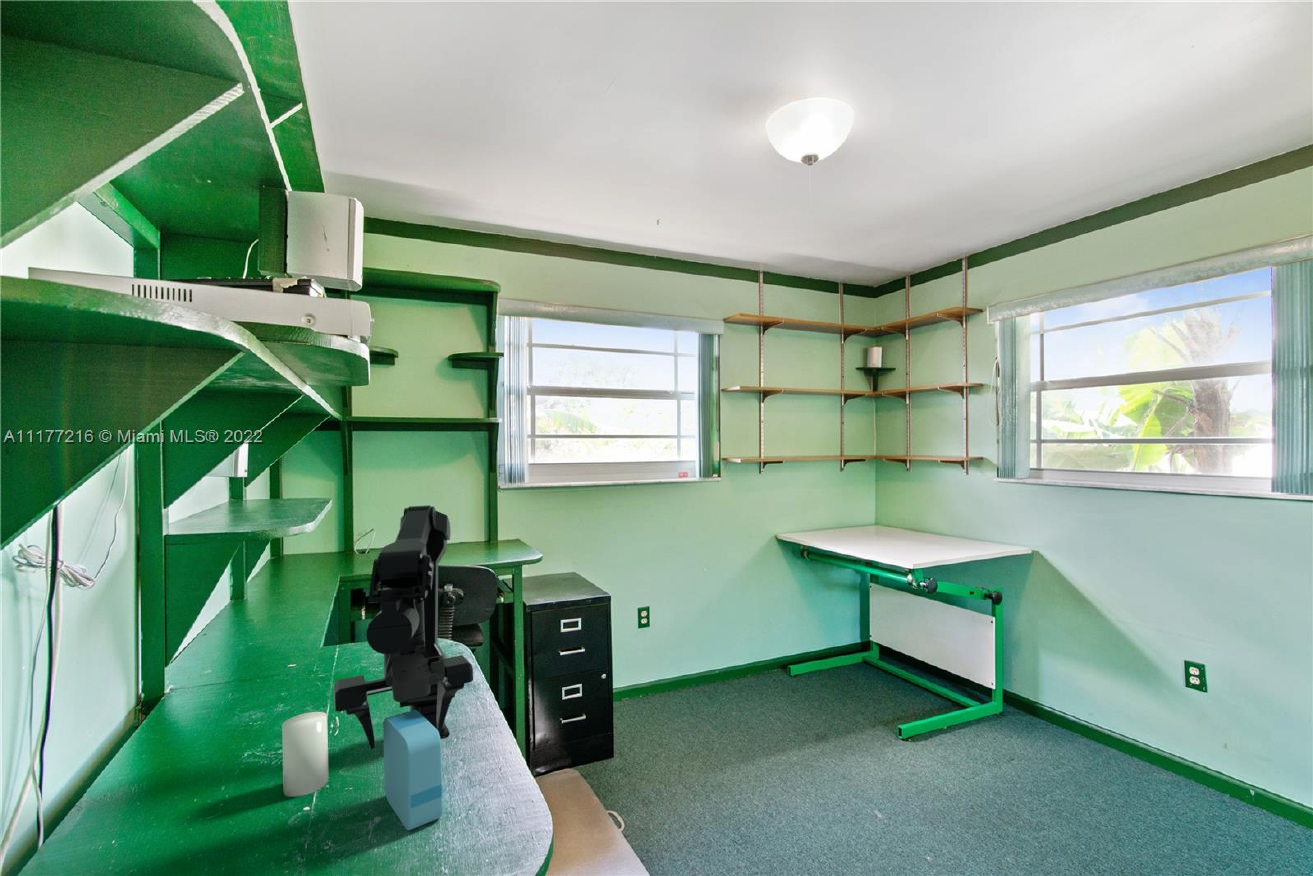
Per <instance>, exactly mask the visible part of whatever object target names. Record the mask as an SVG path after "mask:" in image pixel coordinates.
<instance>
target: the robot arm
mask: <svg viewBox="0 0 1313 876" xmlns="http://www.w3.org/2000/svg"><path fill="white" fill-rule="evenodd" d="M450 523H451V522H450V519H449V517H448V515H447V514H444V513H443V512H440V511H438V510H436V507H435V506H432V505H413V506H408V507H405V508H404V510H403V516H401V517H400V523H399V525H400V526H399V531H398V533H397V536H396V539H395V540H394V541H393V542H392V543H389V544H387V545H385V546H383V548H382V549H381V550H380V552H379V554H378V556H377V558H375V559H374V560H373V564H372V571H371V578H370V584H369V586H370V587H369V591H368V600H367V601H368V604H374V603H379V611H378V613H377V614H376V615H375V616H374V617H373V619H371V621H370V622H369V624H368V627H367V628H366V634H365V636H366V640H367V643H368V645H369V647H370V648H371V649H372V650H373V651H375V652H376V653H379V654H381V655H383V677H384V678H383V677H382V678H378V679H374V680H373V679H372V680H369V681H366V679H365V675H364V674H361V675H355V676H351V677H347V678H341V679H338V680H336V682H334V683H333V703H334V711H335V712H343V711H345V714H346V715H349V716H350V715H354V716H355V717H356V718H357V719H358V721H359V723H360V725H361V726H362V728H363V731H364V734H365V736H366V738H367V741H368V743H369V747H370V749H371V750H374V749H375V748H376V747H375V745H376V744H375V742H376V741H375V740H376V739H375V734H374V730H373V729H374V728H373V723H372V717H371V712H370V711H371V710H370V705H369V702H368V696H372V695H377V694H380V693H386V692H392V698H393V700H394V701H395V702H397V703H399V707H400V709H402V708H404V707H409V711H412V710H417V711H418V712H419V713H420V714H421V715H422V716H423V717H424V718H425V719H427V720H428V721H429V722H430V723H431V724H432V725H433V726H434V727H435V728H436V729H437V730H438V732H439V735H440V739H442V738H445V737H449V736H450V735H451V734H450V733H451V732H450V730H449V728H448V726H447V725H446V723H445V721H446V717H447V715H448V714H447V713H448V710H449V709H450V705H451V703H452V700H453V698H455V697H456V693H457V692H458V691H460V690H463V689H465V684H468V683H472V682H473V681H474V668H473V665H472V664H471V662H470V661H469V660H468V659H467V658H466V657H465V656H464V655H463V654H461V655H456V656H451V657H447V656H446V655H445V653H444V651H443V649H442V648H441V647H440V645H439V643H438V641H439V637H438V635H439V633H438V631H439V628H438V627H439V619H438V618H439V564H440V562H441V560H442V558H443V557H444V556H445V554H446V553H447V550H448V541H450V540H451V524H450ZM379 589H380V590H379Z"/></svg>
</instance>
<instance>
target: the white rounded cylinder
mask: <svg viewBox="0 0 1313 876" xmlns="http://www.w3.org/2000/svg"><path fill="white" fill-rule="evenodd" d="M281 728H282V729H281V732H282V733H281V735H282V737H281V738H282V739H281V740H282V781H283V782H282V784H283V786H282V787H283V792H284V793H283V795H284V794H285V795H284V796H285V797H288V798H289V797H292V798H297V797H303V796H306V795H309V794H314V793H315V792H318V791H319V790H321V789H322V787H323V788H324V787H325V786H326V785H327V784H328V783H329V780H330V779H329V747H328V746H329V743H328V739H329V738H328V734H329V733H328V714H327V713H326V712H324V711H311V712H305V713H301V714H298V715H296V716H292V717H290V718H288V719H287V720H285V721H284V722H283V723H282V725H281ZM328 779H329V780H328ZM327 782H328V783H327ZM326 783H327V784H326ZM325 784H326V785H325ZM317 790H318V791H317Z"/></svg>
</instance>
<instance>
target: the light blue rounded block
mask: <svg viewBox="0 0 1313 876" xmlns="http://www.w3.org/2000/svg"><path fill="white" fill-rule="evenodd" d="M382 725H383V726H382V727H383V763H384V764H383V767H384V768H383V771H384V772H383V773H384V792H385V797H386V801H387V802H388V804H389V806H390V807H391V809H392V810H393V812H394V813H395V814H396V816H397V817H398V819H399V820H400V822H401V824H402V825H403V827H404V829H405V830H406V831H411V830H414V829H416V828H419V827H422V826H423V825H426V824H429V823H430V822H433V821H436V820H438V819H440V818H442V816H443V812H444V804H443V803H444V802H443V799H444V798H443V767H442V761H443V760H442V740H441V739H442V738H440V735H439V732H438V730H437V729H436V728H435V727H434V726H433V725H432V724H431V723H430V722H429V721H428V720H427V719H425V718H424V717H423V716H422V715H421V714H420V713H419V712H418V711H417V710H412V711H410V710H408V711H406V712H405V711H404V712H402V713H399V714H394V715H392V716H387V717H385V719H384V720H383V724H382Z"/></svg>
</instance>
